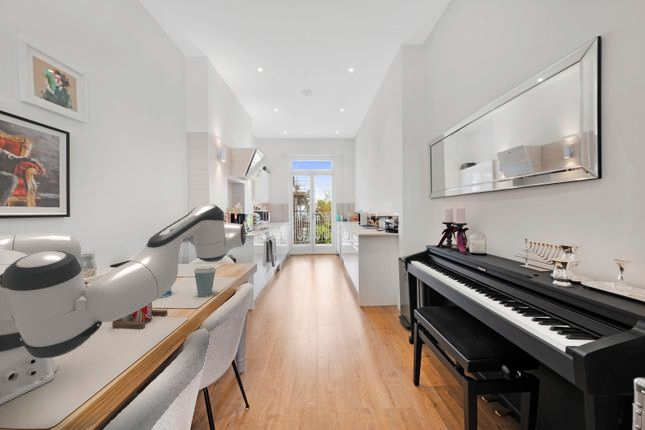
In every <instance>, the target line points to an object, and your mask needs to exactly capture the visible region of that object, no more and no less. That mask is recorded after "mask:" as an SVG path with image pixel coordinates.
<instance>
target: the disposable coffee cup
mask: <svg viewBox="0 0 645 430" xmlns="http://www.w3.org/2000/svg"><path fill="white" fill-rule="evenodd" d="M216 271H217V269H216V267H215V266H198V267H195V268H194V271H193V272H194V275H195V276H194V278H195V284H196V291H197V296H198V297H209V296H211V295H212V293H213V287H214V280H215V274H216Z"/></svg>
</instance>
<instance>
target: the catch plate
mask: <svg viewBox="0 0 645 430" xmlns="http://www.w3.org/2000/svg"><path fill="white" fill-rule="evenodd" d="M122 321H130V322H132V318H131V314H129V315H127V316H125V317H123V318H122Z"/></svg>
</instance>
